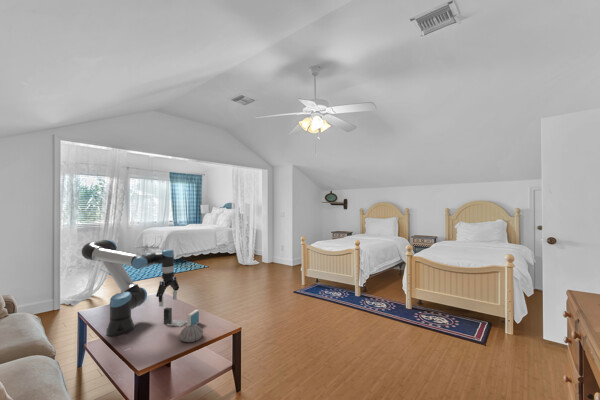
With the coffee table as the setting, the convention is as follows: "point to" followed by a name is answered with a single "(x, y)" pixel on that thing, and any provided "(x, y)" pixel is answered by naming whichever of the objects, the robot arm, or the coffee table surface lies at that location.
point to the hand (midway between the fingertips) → (168, 302)
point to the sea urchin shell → (191, 333)
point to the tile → (193, 318)
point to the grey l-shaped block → (169, 320)
